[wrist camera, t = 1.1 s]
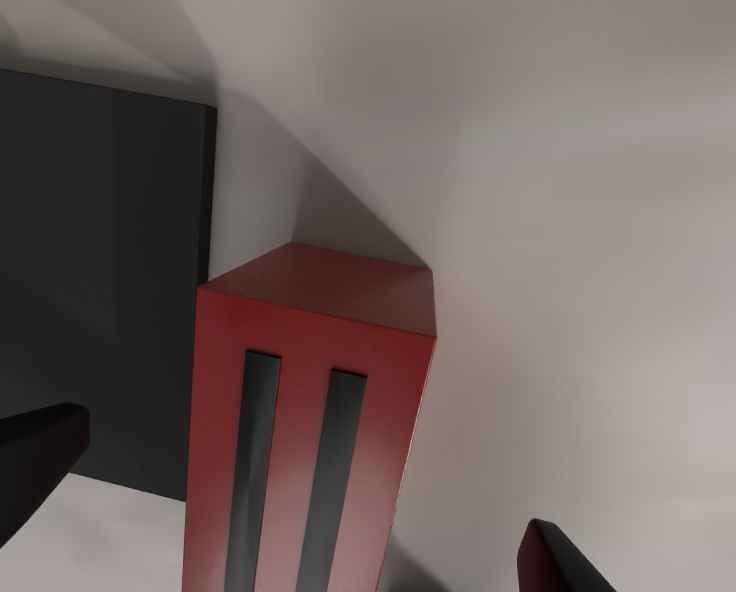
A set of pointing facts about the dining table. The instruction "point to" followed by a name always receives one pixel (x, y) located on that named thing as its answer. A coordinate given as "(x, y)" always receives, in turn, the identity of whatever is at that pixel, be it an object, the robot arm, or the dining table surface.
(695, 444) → the dining table surface
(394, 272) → the toaster
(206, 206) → the placemat
